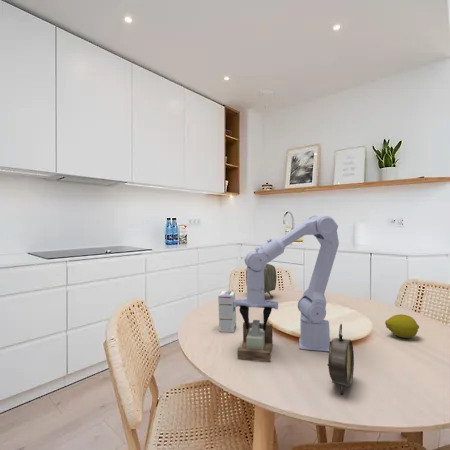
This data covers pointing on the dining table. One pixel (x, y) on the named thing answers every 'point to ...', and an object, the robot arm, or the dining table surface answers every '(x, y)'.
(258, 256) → the robot arm
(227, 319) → the syrup box
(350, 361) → the alarm clock
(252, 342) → the pale grey boxy piece
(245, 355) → the cleat board
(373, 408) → the dining table surface
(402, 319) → the lemon
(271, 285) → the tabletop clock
